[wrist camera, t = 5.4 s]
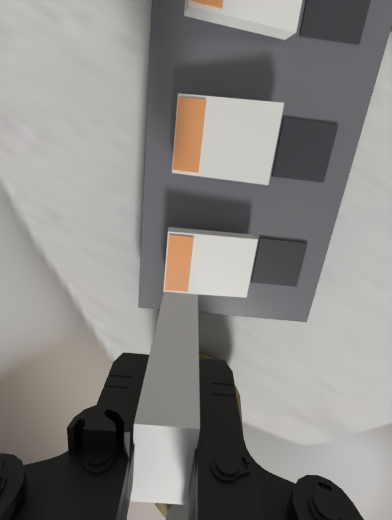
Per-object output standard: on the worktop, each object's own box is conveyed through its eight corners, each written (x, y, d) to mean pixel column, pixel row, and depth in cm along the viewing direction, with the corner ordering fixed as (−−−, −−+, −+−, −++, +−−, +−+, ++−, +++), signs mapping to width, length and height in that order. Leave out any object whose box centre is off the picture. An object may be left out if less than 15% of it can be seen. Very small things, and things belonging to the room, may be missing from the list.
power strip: (482, -39, 19) (569, -95, 15) (360, 305, 28) (391, 333, 24) (165, -91, 18) (157, -169, 13) (145, 285, 27) (137, 311, 22)
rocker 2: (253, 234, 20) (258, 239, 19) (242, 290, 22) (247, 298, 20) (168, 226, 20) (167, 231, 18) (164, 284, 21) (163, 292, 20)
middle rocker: (282, 106, 17) (284, 102, 15) (267, 183, 18) (268, 185, 17) (182, 97, 17) (177, 93, 16) (176, 172, 19) (171, 172, 18)
